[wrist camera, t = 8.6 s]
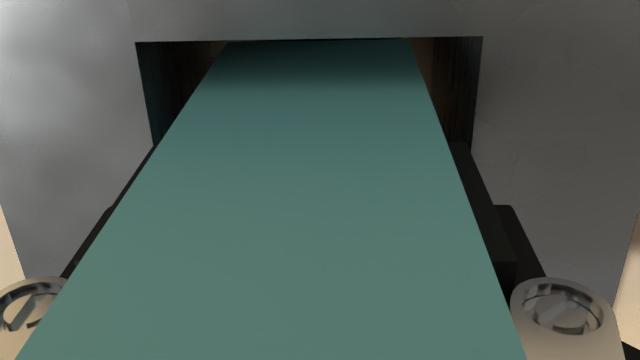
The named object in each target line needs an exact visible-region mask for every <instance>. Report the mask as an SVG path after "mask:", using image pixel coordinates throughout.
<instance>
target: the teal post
mask: <svg viewBox="0 0 640 360" xmlns="http://www.w3.org/2000/svg"><path fill="white" fill-rule="evenodd" d="M14 360H527V357H526V354H525V352H524V349H523V346H522V344H521V341H520V338H519V336H518V333H517V330H516V328H515V325H514V322H513V319H512V317H511V314H510V311H509V309H508V306H507V303H506V301H505V298H504V295H503V292H502V290H501V287H500V284H499V282H498V279H497V276H496V274H495V271H494V268H493V265H492V263H491V260H490V257H489V255H488V252H487V249H486V247H485V244H484V241H483V239H482V236H481V233H480V230H479V228H478V225H477V222H476V220H475V217H474V214H473V212H472V209H471V206H470V203H469V201H468V198H467V195H466V193H465V190H464V187H463V185H462V182H461V179H460V176H459V174H458V171H457V168H456V166H455V163H454V160H453V158H452V155H451V152H450V149H449V147H448V144H447V141H446V139H445V136H444V133H443V131H442V128H441V125H440V123H439V120H438V117H437V114H436V112H435V109H434V106H433V104H432V101H431V98H430V96H429V93H428V90H427V87H426V85H425V82H424V79H423V77H422V74H421V71H420V69H419V66H418V63H417V60H416V58H415V55H414V52H413V50H412V47H411V44H410V42H409V39H386V40H327V41H268V42H227V44H226V45H225V46H224V48H223V49H222V51H221V52H220V54H219V55H218V57H217V58H216V60H215V61H214V63H213V64H212V66H211V67H210V69H209V70H208V72H207V73H206V75H205V76H204V78H203V79H202V81H201V82H200V84H199V85H198V87H197V88H196V90H195V91H194V93H193V94H192V96H191V97H190V99H189V100H188V102H187V103H186V105H185V106H184V108H183V109H182V111H181V112H180V113H179V115H178V116H177V118H176V119H175V121H174V122H173V124H172V125H171V127H170V128H169V130H168V131H167V133H166V134H165V136H164V137H163V139H162V140H161V142H160V143H159V145H158V146H157V148H156V149H155V151H154V152H153V154H152V155H151V157H150V158H149V160H148V161H147V163H146V164H145V166H144V167H143V169H142V170H141V172H140V173H139V175H138V176H137V178H136V179H135V180H134V182H133V183H132V185H131V186H130V188H129V189H128V191H127V192H126V194H125V195H124V197H123V198H122V200H121V201H120V203H119V204H118V206H117V207H116V209H115V210H114V212H113V213H112V215H111V216H110V218H109V219H108V221H107V222H106V224H105V225H104V227H103V228H102V230H101V231H100V233H99V234H98V236H97V237H96V239H95V240H94V242H93V243H92V245H91V246H90V247H89V249H88V250H87V252H86V253H85V255H84V256H83V258H82V259H81V261H80V262H79V264H78V265H77V267H76V268H75V270H74V271H73V273H72V274H71V276H70V277H69V279H68V280H67V282H66V283H65V285H64V286H63V288H62V289H61V291H60V292H59V294H58V295H57V297H56V298H55V300H54V301H53V303H52V304H51V306H50V307H49V309H48V310H47V312H46V313H45V315H44V316H43V317H42V319H41V320H40V322H39V323H38V325H37V326H36V328H35V329H34V331H33V332H32V334H31V335H30V337H29V338H28V340H27V341H26V343H25V344H24V346H23V347H22V349H21V350H20V352H19V353H18V355H17V356H16V358H15V359H14Z"/></svg>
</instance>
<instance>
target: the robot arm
mask: <svg viewBox="0 0 640 360" xmlns="http://www.w3.org/2000/svg"><path fill="white" fill-rule="evenodd" d="M447 144H448V147H449V149H450V152H451V155H452V158H453V160H454V163H455V166H456V168H457V171H458V174H459V176H460V179H461V182H462V185H463V187H464V190H465V193H466V195H467V198H468V201H469V203H470V206H471V209H472V212H473V214H474V217H475V220H476V222H477V225H478V228H479V230H480V233H481V236H482V239H483V241H484V244H485V247H486V249H487V252H488V255H489V257H490V260H491V263H492V265H493V268H494V271H495V274H496V276H497V279H498V282H499V284H500V287H501V290H502V292H503V295H504V298H505V301H506V303H507V306H508V309H509V311H510V314H511V317H512V319H513V322H514V325H515V328H516V330H517V333H518V336H519V338H520V341H521V344H522V346H523V349H524V352H525V354H526V357H527V360H640V350H638V349H636V348H634V347H632V346H630V345H628V344H626V343H624V342H622V341H621V338H620V334H619V330H618V325H617V321H616V317H615V314H614V312H613V310H612V308H611V306H610V305H609V304H608V303H607V301H606V300H605V299H604V298H603V297H602V296H601V295H599V294H598V293H596V292H594V291H593V290H591V289H590V288H588V287H586V286H583V285H581V284H579V283H576V282H574V281H570V280H565V279H561V278H552V277H547V276H546V274H545V272H544V270H543V268H542V266H541V264H540V262H539V260H538V258H537V256H536V254H535V252H534V250H533V248H532V246H531V244H530V241H529V239H528V237H527V235H526V233H525V231H524V229H523V227H522V225H521V223H520V221H519V219H518V217H517V215H516V213H515V211H514V209H513V208H512V206H511V205H494V204H493V202H492V200H491V198H490V195H489V193H488V191H487V188H486V186H485V184H484V182H483V179H482V177H481V175H480V173H479V170H478V168H477V166H476V163H475V161H474V159H473V157H472V154H471V152H470V150H469V147H468V145H467V143H466V142H447ZM157 146H158V145H154V146H152V148H151V149H150V151H149V152H148V154H147V155H146V157H145V158H144V159H143V161H142V162H141V164H140V165H139V167H138V168H137V170H136V171H135V173H134V174H133V176H132V177H131V178H130V180H129V181H128V183H127V184H126V186H125V187H124V189H123V190H122V192H121V193H120V194H119V196H118V197H117V199H116V200H115V202H114V203H113V205H112V206H111V207H108V208H107V209H106V210H105V212H104V213H103V215H102V216H101V218H100V219H99V220H98V222H97V223H96V225H95V226H94V228H93V229H92V230H91V232H90V233H89V235H88V236H87V238H86V239H85V241H84V242H83V243H82V245H81V246H80V248H79V249H78V251H77V252H76V253H75V255H74V256H73V258H72V259H71V261H70V262H69V264H68V265H67V266H66V268H65V269H64V271H63V272H62V274H61V275H60V277H55V276H44V277H35V278H31V279H26V280H22V281H20V282H17V283H15V284H12V285H10V286H7V287H6V288H4V289H2V290H1V291H0V360H14V359H15V358H16V356H17V355H18V353H19V352H20V350H21V349H22V347H23V346H24V344H25V343H26V341H27V340H28V338H29V337H30V335H31V334H32V332H33V331H34V329H35V328H36V326H37V325H38V323H39V322H40V320H41V319H42V317H43V316H44V315H45V313H46V312H47V310H48V309H49V307H50V306H51V304H52V303H53V301H54V300H55V298H56V297H57V295H58V294H59V292H60V291H61V289H62V288H63V286H64V285H65V283H66V282H67V280H68V279H69V277H70V276H71V274H72V273H73V271H74V270H75V268H76V267H77V265H78V264H79V262H80V261H81V259H82V258H83V256H84V255H85V253H86V252H87V250H88V249H89V247H90V246H91V245H92V243H93V242H94V240H95V239H96V237H97V236H98V234H99V233H100V231H101V230H102V228H103V227H104V225H105V224H106V222H107V221H108V219H109V218H110V216H111V215H112V213H113V212H114V210H115V209H116V207H117V206H118V204H119V203H120V201H121V200H122V198H123V197H124V195H125V194H126V192H127V191H128V189H129V188H130V186H131V185H132V183H133V182H134V180H135V179H136V178H137V176H138V175H139V173H140V172H141V170H142V169H143V167H144V166H145V164H146V163H147V161H148V160H149V158H150V157H151V155H152V154H153V152H154V151H155V149H156V148H157Z"/></svg>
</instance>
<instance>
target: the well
mask: <svg viewBox="0 0 640 360" xmlns="http://www.w3.org/2000/svg"><path fill="white" fill-rule="evenodd" d="M386 39H409V42H410V44H411V47H412V50H413V52H414V55H415V58H416V60H417V63H418V66H419V69H420V71H421V74H422V77H423V79H424V82H425V85H426V87H427V90H428V93H429V96H430V98H431V101H432V104H433V106H434V109H435V112H436V114H437V117H438V120H439V123H440V125H441V128H442V131H443V133H444V136H445V139H446V141H447V142H466V143H467V145H468V147H469V150H470V152H471V154H472V157H473V159H474V161H475V163H476V166H477V168H478V170H479V173H480V175H481V177H482V179H483V182H484V184H485V186H486V188H487V191H488V193H489V195H490V198H491V200H492V202H493V204H494V205H511V206H512V208H513V209H514V211H515V213H516V215H517V217H518V219H519V221H520V223H521V225H522V227H523V229H524V231H525V233H526V235H527V237H528V239H529V241H530V244H531V246H532V248H533V250H534V252H535V254H536V256H537V258H538V260H539V262H540V264H541V266H542V268H543V270H544V272H545V274H546V276H547V277H552V278H561V279H565V280H570V281H574V282H576V283H579V284H581V285H583V286H586V287H588V288H590V289H591V290H593V291H594V292H596V293H598V294H599V295H601V296H602V297H603V298H604V299H605V300H606V301H607V303H608V304H609V305H610V306H611V308H612V306H613V303H614V299H615V295H616V292H617V288H618V285H619V281H620V277H621V274H622V270H623V266H624V263H625V259H626V256H627V252H628V248H629V245H630V241H631V237H632V234H633V230H634V227H635V223H636V219H637V216H638V212H639V209H640V0H0V204H1V207H2V210H3V213H4V216H5V219H6V222H7V225H8V228H9V231H10V234H11V237H12V240H13V243H14V246H15V249H16V251H17V254H18V257H19V260H20V263H21V266H22V269H23V272H24V275H25V278H26V279H31V278H35V277H44V276H55V277H60V275H61V274H62V272H63V271H64V269H65V268H66V266H67V265H68V264H69V262H70V261H71V259H72V258H73V256H74V255H75V253H76V252H77V251H78V249H79V248H80V246H81V245H82V243H83V242H84V241H85V239H86V238H87V236H88V235H89V233H90V232H91V230H92V229H93V228H94V226H95V225H96V223H97V222H98V220H99V219H100V218H101V216H102V215H103V213H104V212H105V210H106V209H107V208H108V207H111V206H112V205H113V203H114V202H115V200H116V199H117V197H118V196H119V194H120V193H121V192H122V190H123V189H124V187H125V186H126V184H127V183H128V181H129V180H130V178H131V177H132V176H133V174H134V173H135V171H136V170H137V168H138V167H139V165H140V164H141V162H142V161H143V159H144V158H145V157H146V155H147V154H148V152H149V151H150V149H151V148H152V146H154V145H159V143H160V142H161V140H162V139H163V137H164V136H165V134H166V133H167V131H168V130H169V128H170V127H171V125H172V124H173V122H174V121H175V119H176V118H177V116H178V115H179V113H180V112H181V111H182V109H183V108H184V106H185V105H186V103H187V102H188V100H189V99H190V97H191V96H192V94H193V93H194V91H195V90H196V88H197V87H198V85H199V84H200V82H201V81H202V79H203V78H204V76H205V75H206V73H207V72H208V70H209V69H210V67H211V66H212V64H213V63H214V61H215V60H216V58H217V57H218V55H219V54H220V52H221V51H222V49H223V48H224V46H225V45H226V44H227V42H268V41H327V40H386Z"/></svg>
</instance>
